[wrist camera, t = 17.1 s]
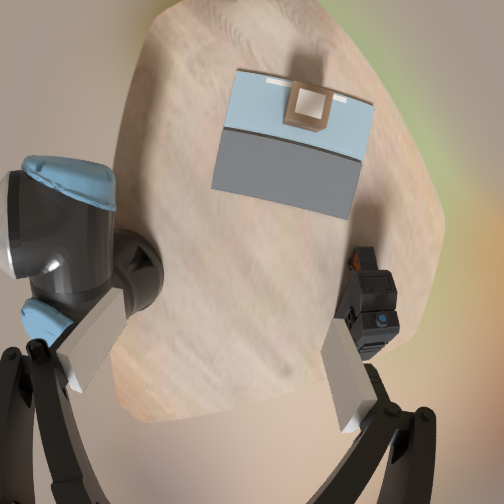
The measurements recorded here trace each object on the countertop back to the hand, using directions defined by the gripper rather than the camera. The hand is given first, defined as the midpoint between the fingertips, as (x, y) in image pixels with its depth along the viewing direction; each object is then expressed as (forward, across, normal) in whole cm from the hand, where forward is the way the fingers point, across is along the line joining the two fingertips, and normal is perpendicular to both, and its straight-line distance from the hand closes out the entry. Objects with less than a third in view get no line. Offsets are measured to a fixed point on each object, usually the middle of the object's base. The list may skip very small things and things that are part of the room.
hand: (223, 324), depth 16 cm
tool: (+26, +20, -11) cm, 35 cm away
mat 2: (+27, +5, +8) cm, 28 cm away
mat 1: (+27, +6, +17) cm, 32 cm away
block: (+26, +6, +17) cm, 32 cm away
